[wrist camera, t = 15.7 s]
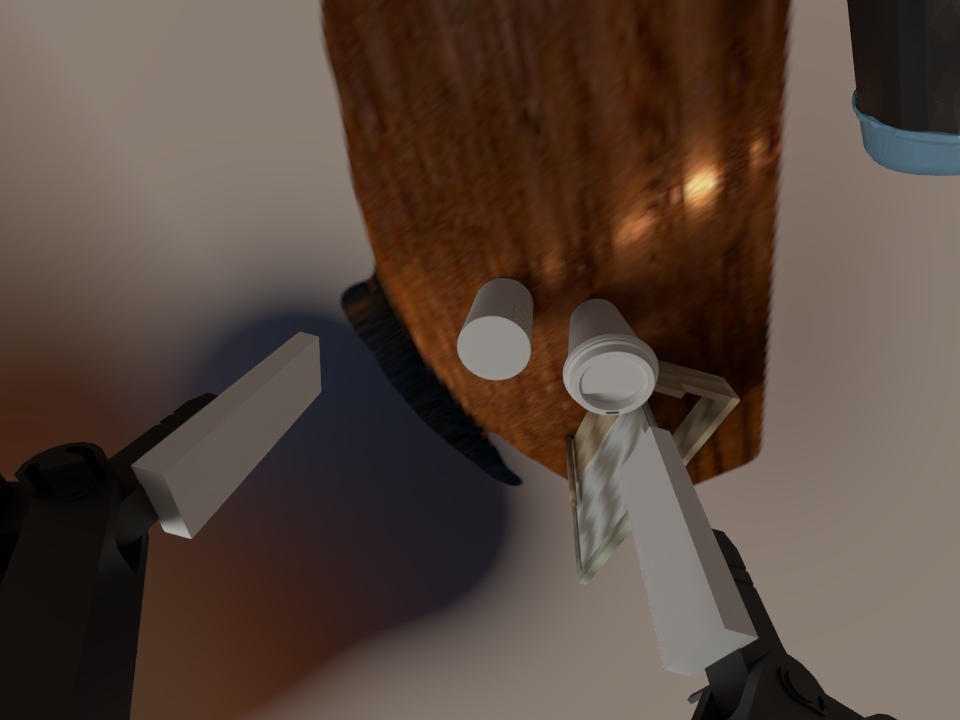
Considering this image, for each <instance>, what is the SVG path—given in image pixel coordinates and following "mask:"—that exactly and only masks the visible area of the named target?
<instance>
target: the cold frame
mask: <svg viewBox="0 0 960 720" xmlns="http://www.w3.org/2000/svg"><path fill="white" fill-rule="evenodd" d="M657 360H658V359H657ZM658 366H659V373H658V379H657V382H656V385H655V387H654V389H653V391H656V392H659V393H663V394H667V395H670V396H674V397H677V398H682V397H683V396H684V394H685V393H686V392H689V393H692V394H696V395H699V396H702V397H701V398H700V399H699V401H698V402H697V403H696V405H695V406H694V407H693V409H692V410H691V411H690V413H689V414H688V415H687V417H686V418H685V419H684V421H683V422H682V423H681V425H680V426H679V427H678V429H677V430H676V431H675V433H674V434H673V435H672V438H673V440H674V442H675V445H676V447H677V449H678V452H679V454H680V456H681V459H682V461H683V463H684V466H686V464H687V463H688V462H689V461H690V460H691V458H692V457H693V456H694V455H695V454H696V452H697V451H698V450H699V449H700V448H701V446H702V445H703V444H704V443H705V442H706V441H707V439H708V438H709V437H710V436H711V435H712V433H713V432H714V431H715V430H716V429H717V427H718V426H719V425H720V424H721V423H722V421H723V420H724V419H725V418H726V417H727V415H728V414H729V413H730V412H731V411H732V409H733V408H734V407H735V406H736V405H737V404H738V402H739V401H740V398H739V397H738V396H737V394H736V393H735V392H734V391H733V389H732V388H731V387H730V385H729V384H728V383H727V381H726V380H725V379H724V378H723V377H719V376H716V375H712V374H708V373H705V372H701V371H698V370H694V369H690V368H687V367H683V366H680V365H676V364H672V363H669V362H665V361H661V360H658ZM650 426H652V427H656V428H658V427H657V424H656V422H655V419H654V416H653V414H652V411H651V409H650V406H649V404H648V401H646V402H645V403H644V404H642V405H641V406H640V407H638V408H636V409H635V410H633V411H630V412H628V413H624V414H620V415H601V414H597V413H593V412H591V411H589V410H588V412H587V414H586V416H585V417H584V419H583V421H582V423H581V425H580V427H579V429H578V431H577V432H576V434H575V436H574V438H573V440H572V439H571V436H566V437H565V441H566V455H567V468H568V482H569V496H570V505H571V506H572V512H573V524H574V538H575V551H576V564H577V577H578V583H580V584H584V585H586V584H587V583H588V582H589V581H590V580H591V578H592V577H593V576H594V575H595V574H596V573H597V571H598V570H599V569H600V568H601V567H602V565H603V564H604V563H605V562H606V561H607V559H608V558H609V557H610V556H611V555H612V553H613V552H614V551H615V550H616V549H617V547H618V546H619V545H620V544H621V543H622V542H623V540H624V539H625V538H626V537H627V536H628V534H629V533H630V532H631V531H632V526H631V522H630V518H629V513H628V509H627V504H626V500H625V495H624V491H623V487H622V482H621V478H620V473H619V472H620V470H621V469H622V467H623V466H624V464H625V463H626V461H627V460H628V458H629V457H630V455H631V454H632V452H633V451H634V449H635V448H636V446H637V445H638V443H639V442H640V440H641V439H642V437H643V436H644V434H645V433H646V431H647V430H648V428H649V427H650Z"/></svg>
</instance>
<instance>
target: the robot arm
mask: <svg viewBox="0 0 960 720" xmlns="http://www.w3.org/2000/svg"><path fill="white" fill-rule="evenodd" d="M847 3H848V12H849V22H850V32H851V41H852V51H853V61H854V71H855V81H856V90H855V91H854V93H853V98H852V105H853V110H854V112H856V115H857V117H858V118H859V119H860V125H861V131H862V137H863V143H864V147H865V150H866V152H867V153H868V154H869V155H870V156H871V157H872V159H873V160H874V161H875V162H877V163H878V164H879V165H881V166H883V167H886V168H888V169H891V170H894V171H898V172H903V173H909V174H916V175H935V176H943V175H944V176H945V175H947V176H948V175H960V0H847ZM320 392H321V376H320V355H319V337H317V336H313V335H310V334H306V333H302V332H299V333H297V334H296V335H295V336H294V337H292V338H291V339H290V340H289V341H287V342H286V343H285V344H283V345H282V346H281V347H280V348H279V349H277V350H276V351H275V352H274V353H272V354H271V355H270V356H268V357H267V358H266V359H265V360H263V361H262V362H261V363H260V364H258V365H257V366H256V367H254V368H253V369H252V370H251V371H249V372H248V373H247V374H246V375H244V376H243V377H242V378H241V379H239V380H238V381H237V382H236V383H234V384H233V385H232V386H231V387H229V388H228V389H227V390H225V391H224V392H223V393H222V394H220V395H219V396H218V395H214V394H211V393H206V394H204V395H201V396H199V397H197V398H194V399H192V400H189V401H188V402H186V403H185V404H183V405H182V406H181V407H179V408H178V409H177V410H175V411H174V412H172V415H169V416H167V417H166V418H164V419H163V420H162V421H160V422H159V424H158V425H155V426H153V427H152V428H151V429H149V430H148V431H147V432H145V433H144V434H143V435H141V436H140V437H139V438H137V439H136V440H135V441H133V442H132V443H130V444H129V445H128V446H127V447H125V448H124V449H122V450H121V451H120V452H118V453H117V454H116V455H114V456H113V457H111V458H110V459H109V460H108V459H107V457H106V455H105V453H104V452H103V450H102V449H101V448H100V447H99V446H97V445H96V444H93V443H86V442H77V443H67V444H64V445H60V446H56V447H53V448H50V449H48V450H46V451H44V452H41V453H39V454H37V455H35V456H33V457H32V458H31V459H29V460H28V461H26V462H25V463H24V464H22V465H21V466H20V468H19V469H18V470H17V472H16V473H15V474H14V475H15V476H16V478H17V479H18V480H19V481H18V482H16V481H15V482H7V481H6V479H5V478H4V477H3V476H2V475H1V473H0V720H129V719H130V711H131V700H132V692H133V683H134V674H135V664H136V655H137V646H138V636H139V627H140V618H141V609H142V600H143V590H144V580H145V572H146V563H147V553H148V544H149V535H148V529H149V528H150V527H151V526H152V525H153V524H154V523H155V522H156V521H157V520H159V522H160V524H161V526H162V528H163V530H164V531H165V532H168V533H172V534H176V535H179V536H183V537H186V538H190V539H192V538H193V537H194V536H195V535H196V533H197V532H198V531H199V530H200V529H201V528H202V527H203V525H204V524H205V523H206V522H207V521H208V520H209V519H210V517H211V516H212V515H213V514H214V513H215V512H216V511H217V510H218V508H219V507H220V506H221V505H222V504H223V503H224V501H225V500H226V499H227V498H228V497H229V496H230V495H231V494H232V492H233V491H234V490H235V489H236V488H237V487H238V486H239V484H240V483H241V482H242V481H243V480H244V479H245V477H246V476H247V475H248V474H249V473H250V472H251V471H252V470H253V468H254V467H255V466H256V465H257V464H258V463H259V462H260V460H261V459H262V458H263V457H264V456H265V455H266V454H267V453H268V451H269V450H270V449H271V448H272V447H273V446H274V445H275V443H276V442H277V441H278V440H279V439H280V438H281V437H282V436H283V434H284V433H285V432H286V431H287V430H288V429H289V427H290V426H291V425H292V424H293V423H294V422H295V421H296V419H297V418H298V417H299V416H300V415H301V414H302V413H303V412H304V410H305V409H306V408H307V407H308V406H309V405H310V404H311V403H312V401H313V400H314V399H315V398H316V397H317V396H318V395H319V393H320ZM619 473H620V478H621V482H622V487H623V491H624V495H625V500H626V504H627V509H628V513H629V518H630V522H631V526H632V531H633V535H634V540H635V544H636V549H637V553H638V557H639V561H640V566H641V571H642V575H643V580H644V584H645V588H646V593H647V597H648V602H649V606H650V610H651V615H652V619H653V624H654V628H655V632H656V637H657V641H658V646H659V650H660V655H661V659H662V663H663V668H664V670H667V671H671V672H674V673H678V674H682V675H685V676H689V677H693V676H695V675H697V674H699V673H700V672H702V671H704V670H705V671H706V674H707V678H708V681H709V684H710V685H708V686H706V687H704V688H703V689H701V690H699V691H697V692H695V693H693V694H692V695H691V696H690V697H689V698H688V701H689V702H690V703H691V704H692V703H694V702H696V701H698V700H699V702H698V705H697V707H696V710H695V712H694V714H693V717H692V719H691V720H897V719H895V718H893V717H891V716H889V715H885V714H875V715H872V716H869V717H866V718H864V717H862V716H861V715H859V714H858V713H856V712H854V711H853V710H851V709H849V708H848V707H846V706H844V705H843V704H841V703H839V702H838V701H836V700H835V699H833V698H832V697H830V696H828V695H826V694H825V692H824V691H823V689H822V688H821V686H820V685H819V683H818V682H817V680H816V679H815V677H814V676H813V675H812V674H811V673H810V672H809V671H808V670H807V669H806V668H805V667H804V666H803V665H802V664H801V663H800V662H798V661H797V660H796V659H794V658H793V657H792V656H790V655H788V654H787V653H786V651H785V649H784V647H783V645H782V643H781V641H780V639H779V637H778V635H777V633H776V630H775V628H774V626H773V624H772V622H771V620H770V618H769V616H768V614H767V611H766V609H765V607H764V605H763V603H762V601H761V599H760V597H759V594H758V592H757V590H756V589H755V588H754V587H753V582H752V580H751V577H750V575H749V573H748V572H746V567H745V565H744V563H743V561H742V558H741V556H740V554H739V552H738V550H737V548H736V547H735V546H734V545H733V544H732V542H731V541H730V540H729V538H728V537H727V536H726V535H725V533H724V532H723V531H719V530H715V529H712V528H711V526H710V524H709V522H708V519H707V517H706V515H705V512H704V510H703V508H702V506H701V503H700V501H699V498H698V496H697V494H696V491H695V489H694V487H693V484H692V482H691V480H690V477H689V475H688V473H687V470H686V468H685V466H684V463H683V461H682V459H681V456H680V454H679V452H678V449H677V447H676V445H675V442H674V440H673V438H672V435H671V433H670V431H667V430H664V429H660V428H656V427H652V426H650V427H649V428H648V430H647V431H646V433H645V434H644V436H643V437H642V439H641V440H640V442H639V443H638V445H637V446H636V448H635V449H634V451H633V452H632V454H631V455H630V457H629V458H628V460H627V461H626V463H625V464H624V466H623V467H622V469H621V470H620V472H619Z"/></svg>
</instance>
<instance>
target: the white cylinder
mask: <svg viewBox="0 0 960 720" xmlns="http://www.w3.org/2000/svg"><path fill="white" fill-rule="evenodd" d="M532 322H533V299H532V296H531V294H530V292H529V291H528V290H527V288H526V287H525V286H524V285H522V284H521V283H519V282H518V281H516V280H513V279H509V278H498V279H494V280H491V281H489V282H487V283H486V284H485V285H483V286H482V287H481V289H480V290H479V292H478V293H477V296H476V298H475V300H474V303H473V305H472V307H471V310H470V312H469V314H468V317H467V319H466V321H465V324H464V326H463V328H462V331H461V333H460V335H459V338H458V344H457V348H458V354H459V357H460V359H461V361H462V362H463V364H464V365H465V366H466V368H467V369H469V370H470V371H471V372H472V373H474V374H475V375H477V376H479V377H482V378H485V379H490V380H503V379H508V378H511V377H513V376H515V375H517V374H518V373H520V372H521V371H522V370H523V369H524V368H525V366H526V365H527V363H528V361H529V358H530V353H531V338H532Z"/></svg>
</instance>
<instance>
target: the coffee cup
mask: <svg viewBox="0 0 960 720" xmlns="http://www.w3.org/2000/svg"><path fill="white" fill-rule="evenodd" d="M658 373H659V366H658V360H657V357H656V355H655V353H654V352H653V350H652V349H651V348H650V347H649V346H648V345H647V344H646V343H645V342H643V341H642V340H640V339H638V338H637V336H636V335H635V333H634V332H633V331H632V329H631V328H630V326H629V325H628V324H627V322H626V321H625V319H624V318H623V316H622V315H621V314H620V312H619V311H618V309H617V308H616V307H615V305H613V304H612V303H611V302H609V301H607V300H604V299H591V300H587V301H585V302H583V303H581V304H580V305H579V306H577V307H576V309H575V310H574V311H573V313H572V315H571V318H570V333H569V352H568V358H567V360H566V362H565V365H564V369H563V380H564V384H565V387H566V389H567V390H568V392H569V394H570V395H571V396H572V398H573V399H574V400H575V401H577V402H578V403H579V404H580V405H581V406H583V407H584V408H585V409H587V410H589V411H591V412H593V413H597V414H601V415H620V414H624V413H628V412H630V411H633V410H635V409H636V408H638V407H640V406H641V405H642V404H644V403H645V402H646V401H647V400H648V398H649V397H650V395H651V394H652V392H653V389H654V387H655V385H656V382H657V379H658Z"/></svg>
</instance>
